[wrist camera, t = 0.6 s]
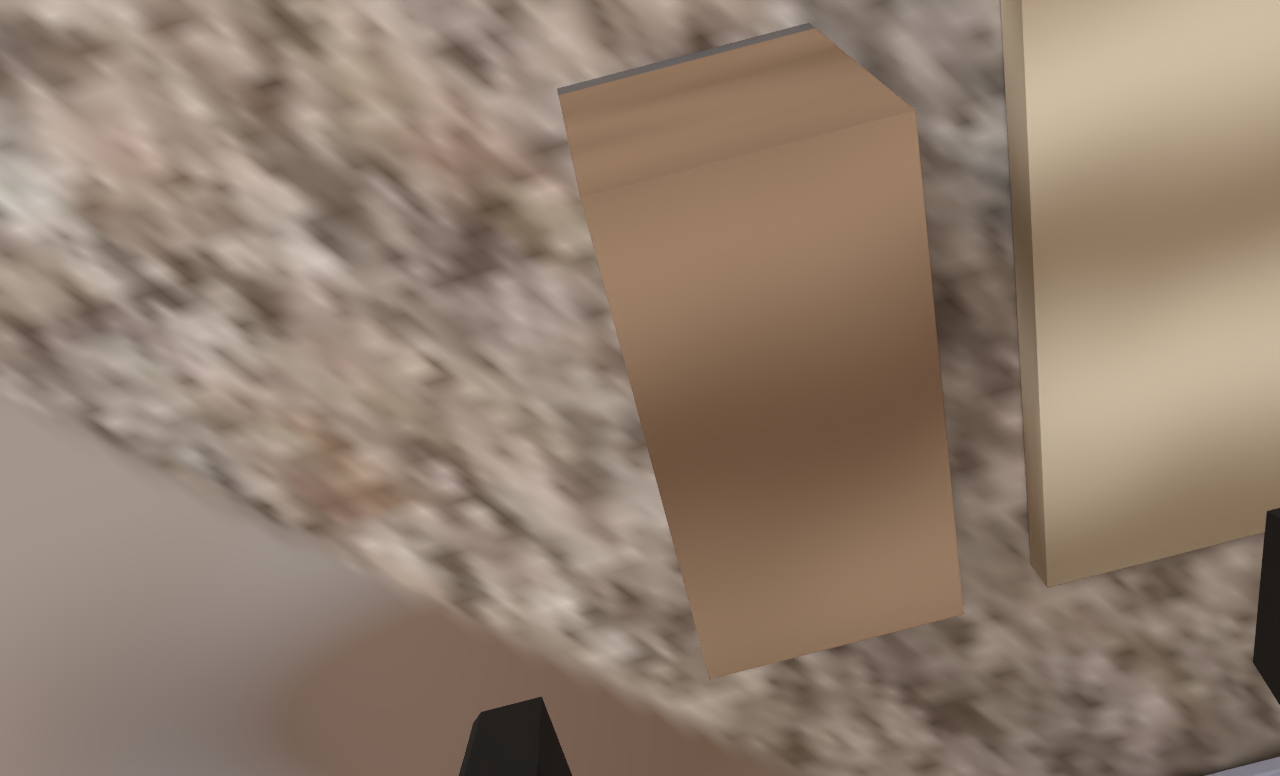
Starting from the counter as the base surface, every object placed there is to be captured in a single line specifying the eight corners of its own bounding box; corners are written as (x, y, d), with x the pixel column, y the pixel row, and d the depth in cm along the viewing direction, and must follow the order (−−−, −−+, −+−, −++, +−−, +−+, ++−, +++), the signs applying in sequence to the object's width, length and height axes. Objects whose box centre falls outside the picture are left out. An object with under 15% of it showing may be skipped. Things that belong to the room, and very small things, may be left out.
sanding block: (865, 439, 21) (963, 613, 17) (664, 491, 21) (709, 678, 17) (806, 21, 17) (915, 110, 13) (556, 86, 17) (580, 197, 13)
